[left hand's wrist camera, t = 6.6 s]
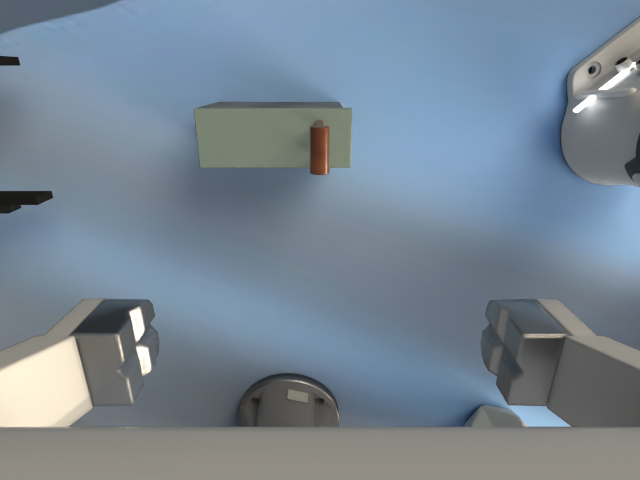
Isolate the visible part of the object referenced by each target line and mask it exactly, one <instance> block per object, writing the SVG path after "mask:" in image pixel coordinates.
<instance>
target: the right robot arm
mask: <svg viewBox="0 0 640 480" xmlns="http://www.w3.org/2000/svg"><path fill="white" fill-rule="evenodd" d="M0 65H20V63H19V59H18V57H7V56H0ZM51 198H53V195H52V191H0V213H10V212H13V211H15V210H17V209H19V208H21V205H38V204H41V203H43V202H45V201H47V200H49V199H51ZM338 425H339V413H338V405H337V402H336V400H335V398H334V396H333V395H332V393H331V392H330V391H329V390H328V389H327V388H326V387H325V386H324V385H323V384H321V383H320V382H318V381H316V380H314V379H312V378H309V377H307V376H303V375H298V374H278V375H273V376H269V377H266V378H264V379H262V380H260V381H258V382H257V383H255V384H254V385H253V386H251V387H250V388H249V389H248V391H247V392H246V393H245V395H244V396H243V398H242V401H241V405H240V409H239V413H238V426H239V427H338Z"/></svg>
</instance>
